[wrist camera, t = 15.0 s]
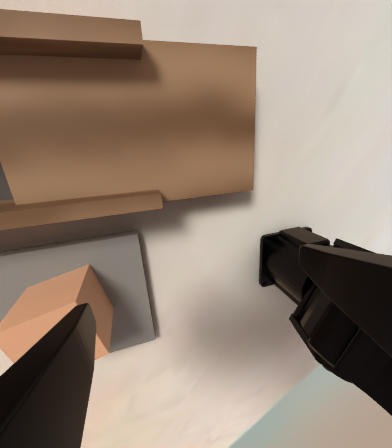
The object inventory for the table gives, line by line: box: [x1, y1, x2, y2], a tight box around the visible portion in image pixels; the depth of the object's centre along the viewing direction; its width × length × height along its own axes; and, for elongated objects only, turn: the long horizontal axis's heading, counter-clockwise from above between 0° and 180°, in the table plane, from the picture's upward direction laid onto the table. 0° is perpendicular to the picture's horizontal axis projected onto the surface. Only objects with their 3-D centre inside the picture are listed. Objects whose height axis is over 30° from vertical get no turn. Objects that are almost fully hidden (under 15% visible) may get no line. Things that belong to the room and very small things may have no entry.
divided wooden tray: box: [0, 9, 257, 230], centre depth 14 cm, size 10×25×5 cm, turn 94°
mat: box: [0, 231, 155, 353], centre depth 19 cm, size 12×12×1 cm
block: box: [0, 264, 114, 363], centre depth 16 cm, size 5×5×5 cm
